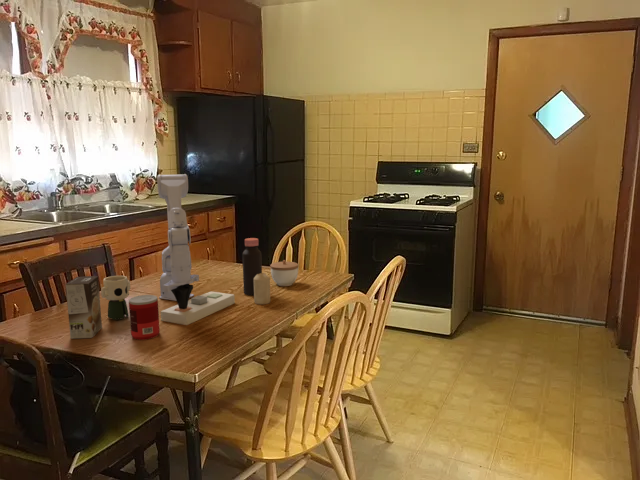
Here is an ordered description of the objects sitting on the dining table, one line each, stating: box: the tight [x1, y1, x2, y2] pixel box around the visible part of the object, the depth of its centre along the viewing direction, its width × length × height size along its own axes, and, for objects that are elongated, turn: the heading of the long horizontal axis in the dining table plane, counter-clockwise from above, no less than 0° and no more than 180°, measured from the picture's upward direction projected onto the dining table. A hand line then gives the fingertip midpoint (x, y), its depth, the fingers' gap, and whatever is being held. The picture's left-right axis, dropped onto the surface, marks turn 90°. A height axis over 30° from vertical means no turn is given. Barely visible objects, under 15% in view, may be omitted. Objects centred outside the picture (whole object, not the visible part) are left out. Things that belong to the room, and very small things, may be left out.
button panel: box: [160, 291, 236, 326], centre depth 182 cm, size 10×25×3 cm, turn 153°
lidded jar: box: [269, 259, 299, 287], centre depth 214 cm, size 11×11×9 cm
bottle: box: [242, 237, 263, 297], centre depth 201 cm, size 7×7×20 cm
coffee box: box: [65, 275, 103, 339], centre depth 161 cm, size 9×6×16 cm
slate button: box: [190, 295, 207, 305], centre depth 181 cm, size 4×4×3 cm
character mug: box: [100, 275, 131, 320], centre depth 175 cm, size 11×7×13 cm, turn 150°
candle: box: [253, 272, 271, 305], centre depth 191 cm, size 6×6×10 cm
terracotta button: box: [175, 307, 191, 312], centre depth 175 cm, size 4×4×3 cm
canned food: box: [128, 294, 161, 341], centre depth 159 cm, size 8×8×11 cm
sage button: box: [207, 293, 222, 299], centre depth 189 cm, size 4×4×3 cm
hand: (183, 308), depth 174 cm, fingers closed, pressing on terracotta button
